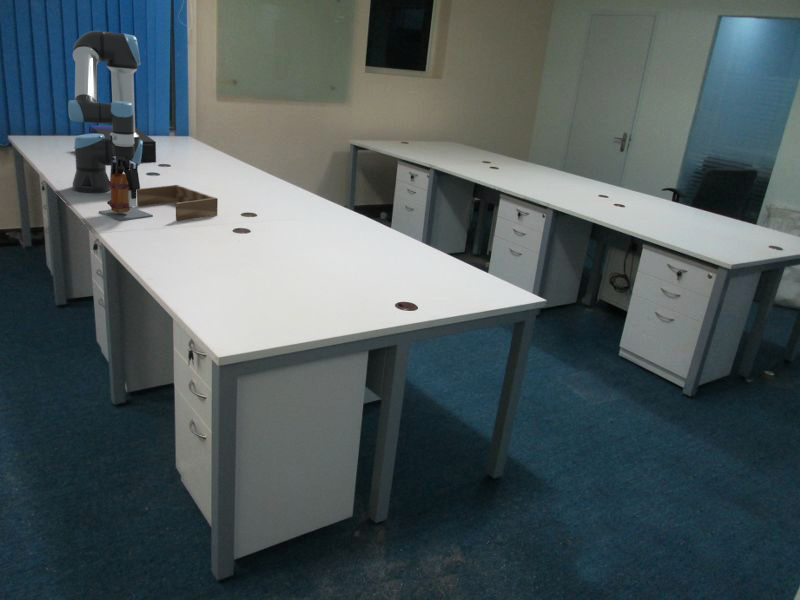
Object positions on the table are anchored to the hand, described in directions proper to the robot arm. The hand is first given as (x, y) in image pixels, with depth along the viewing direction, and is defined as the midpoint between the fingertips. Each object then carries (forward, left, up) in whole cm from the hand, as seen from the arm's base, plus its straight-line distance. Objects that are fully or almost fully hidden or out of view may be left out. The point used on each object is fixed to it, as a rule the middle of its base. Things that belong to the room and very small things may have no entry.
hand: (125, 203), depth 249 cm
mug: (-1, 0, -3) cm, 3 cm away
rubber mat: (0, 0, -4) cm, 4 cm away
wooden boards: (+4, +20, -4) cm, 21 cm away
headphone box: (-103, +64, -5) cm, 122 cm away
